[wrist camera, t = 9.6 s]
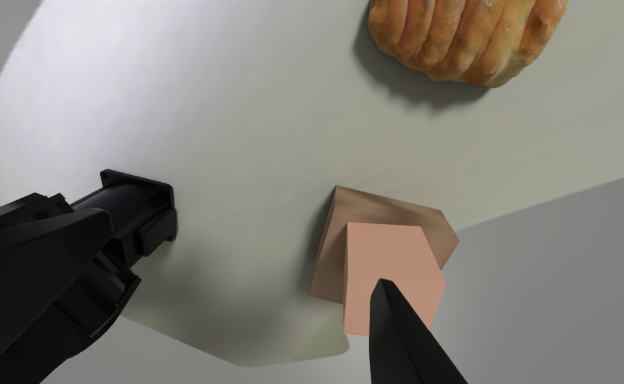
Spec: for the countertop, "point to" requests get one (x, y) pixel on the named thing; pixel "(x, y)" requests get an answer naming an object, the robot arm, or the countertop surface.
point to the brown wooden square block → (375, 211)
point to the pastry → (465, 36)
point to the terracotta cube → (388, 271)
